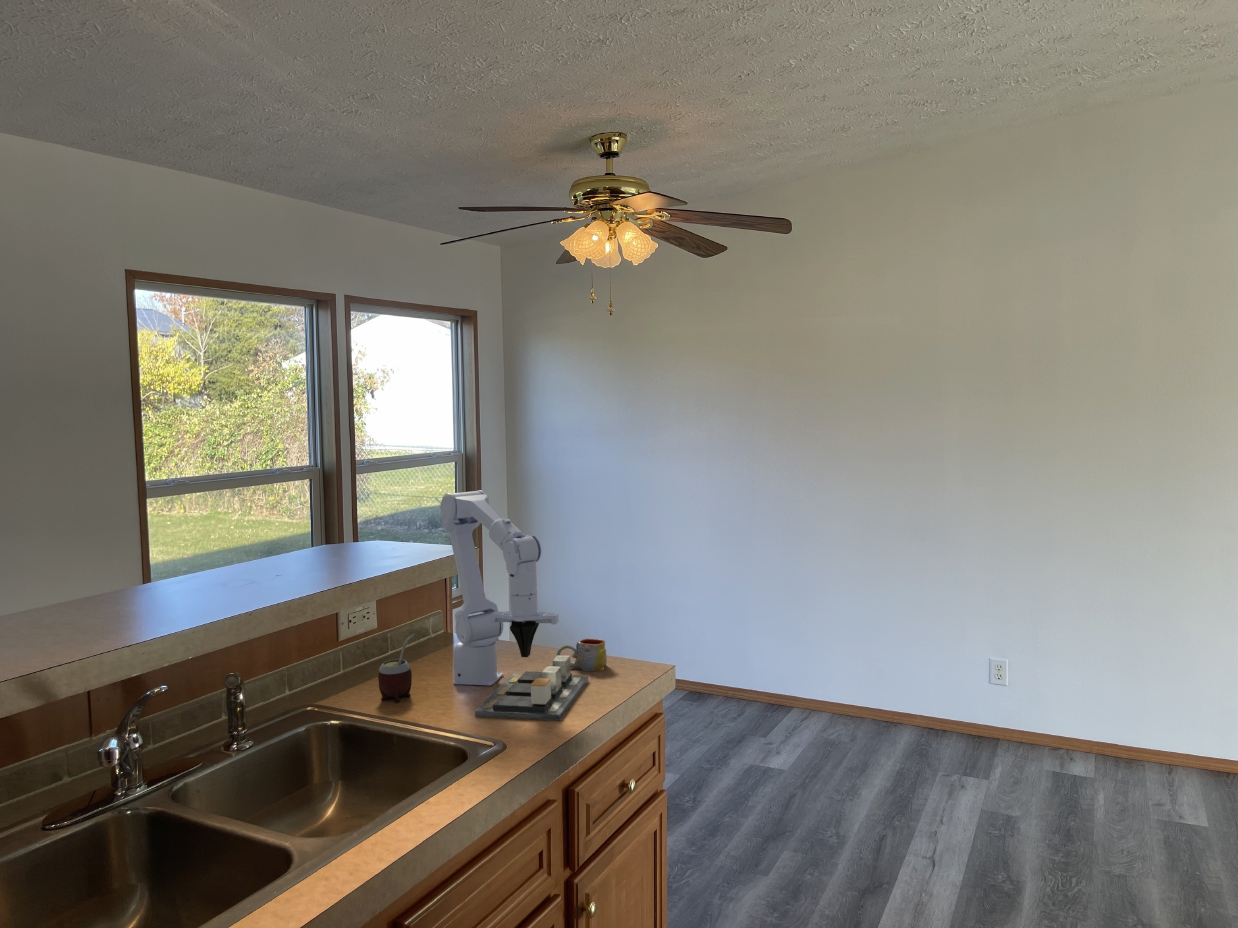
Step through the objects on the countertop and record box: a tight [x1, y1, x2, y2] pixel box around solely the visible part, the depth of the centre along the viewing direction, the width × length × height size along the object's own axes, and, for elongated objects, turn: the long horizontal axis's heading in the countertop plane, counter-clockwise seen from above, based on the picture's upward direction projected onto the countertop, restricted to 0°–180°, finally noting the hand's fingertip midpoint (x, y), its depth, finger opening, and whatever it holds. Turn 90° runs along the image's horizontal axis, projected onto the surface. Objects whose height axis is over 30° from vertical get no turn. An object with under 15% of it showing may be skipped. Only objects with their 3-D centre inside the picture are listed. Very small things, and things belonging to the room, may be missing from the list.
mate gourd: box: [377, 632, 416, 704], centre depth 181 cm, size 8×8×15 cm
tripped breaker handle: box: [531, 678, 551, 704], centre depth 171 cm, size 3×4×4 cm
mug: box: [556, 638, 608, 672], centre depth 200 cm, size 12×7×7 cm, turn 92°
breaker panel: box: [474, 654, 589, 722], centre depth 179 cm, size 18×24×6 cm
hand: (525, 655), depth 177 cm, fingers closed
